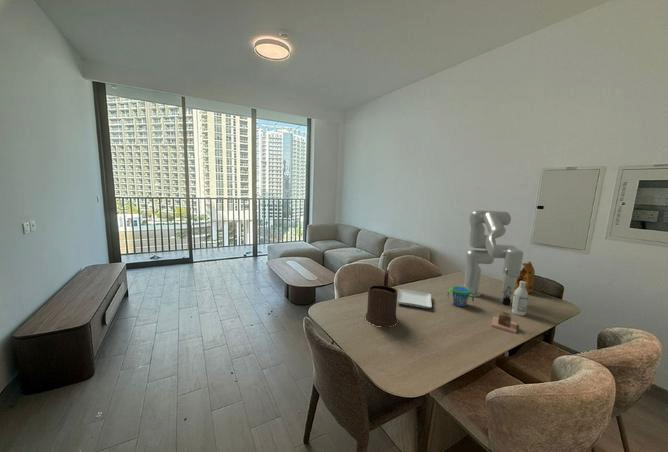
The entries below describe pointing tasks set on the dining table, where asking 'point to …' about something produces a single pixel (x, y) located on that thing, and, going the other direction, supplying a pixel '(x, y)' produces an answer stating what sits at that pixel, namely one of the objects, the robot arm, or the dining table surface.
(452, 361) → the dining table surface
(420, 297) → the salad plate
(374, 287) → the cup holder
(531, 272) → the orange cat figurine
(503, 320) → the walnut cube
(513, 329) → the terracotta tile
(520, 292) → the bath foam
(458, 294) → the snack cup
